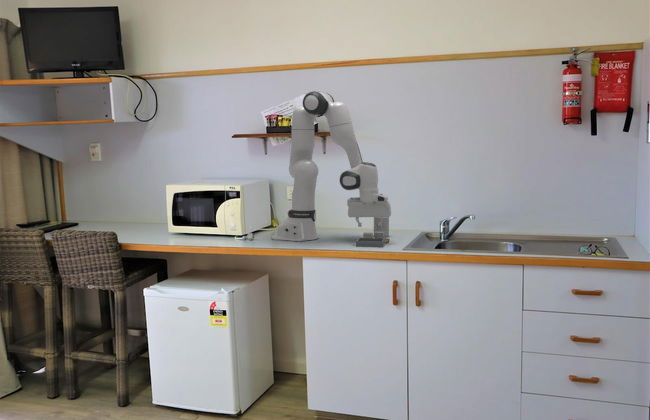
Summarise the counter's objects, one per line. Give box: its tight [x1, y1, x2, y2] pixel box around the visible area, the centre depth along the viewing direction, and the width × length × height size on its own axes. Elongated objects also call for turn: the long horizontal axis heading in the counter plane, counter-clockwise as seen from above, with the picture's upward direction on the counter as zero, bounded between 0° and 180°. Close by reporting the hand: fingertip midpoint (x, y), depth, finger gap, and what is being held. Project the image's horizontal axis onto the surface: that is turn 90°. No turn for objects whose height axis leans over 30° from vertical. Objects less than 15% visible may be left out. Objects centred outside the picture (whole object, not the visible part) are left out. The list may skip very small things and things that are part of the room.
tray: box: [384, 237, 390, 245], centre depth 295 cm, size 14×11×1 cm
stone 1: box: [362, 231, 374, 238], centre depth 293 cm, size 4×4×4 cm
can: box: [373, 217, 390, 238], centre depth 308 cm, size 8×8×12 cm
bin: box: [355, 237, 386, 249], centre depth 283 cm, size 12×9×3 cm
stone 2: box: [374, 231, 385, 239], centre depth 296 cm, size 4×4×4 cm
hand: (369, 226), depth 292 cm, fingers open, 8 cm apart
